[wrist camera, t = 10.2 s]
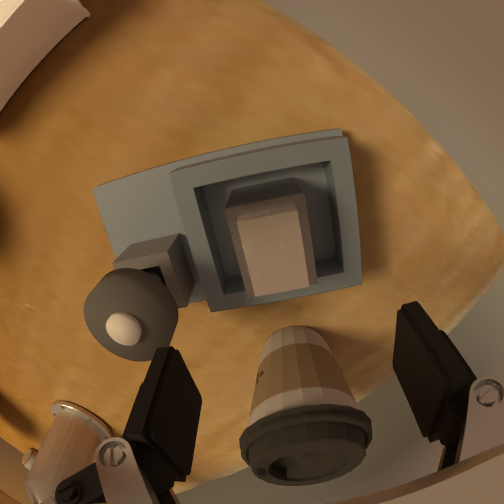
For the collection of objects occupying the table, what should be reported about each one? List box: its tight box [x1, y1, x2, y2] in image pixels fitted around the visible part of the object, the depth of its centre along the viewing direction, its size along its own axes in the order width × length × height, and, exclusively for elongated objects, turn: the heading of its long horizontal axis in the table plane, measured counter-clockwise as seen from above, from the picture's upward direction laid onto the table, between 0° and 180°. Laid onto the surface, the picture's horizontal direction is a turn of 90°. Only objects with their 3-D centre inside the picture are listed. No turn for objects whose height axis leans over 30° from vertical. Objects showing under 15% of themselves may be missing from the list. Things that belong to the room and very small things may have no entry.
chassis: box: [92, 129, 362, 312], centre depth 24 cm, size 13×22×6 cm, turn 102°
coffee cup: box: [239, 326, 372, 486], centre depth 26 cm, size 11×11×15 cm
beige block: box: [225, 177, 318, 297], centre depth 22 cm, size 5×6×7 cm
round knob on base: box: [84, 268, 178, 361], centre depth 21 cm, size 6×6×7 cm
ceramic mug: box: [22, 448, 38, 470], centre depth 51 cm, size 11×8×8 cm
